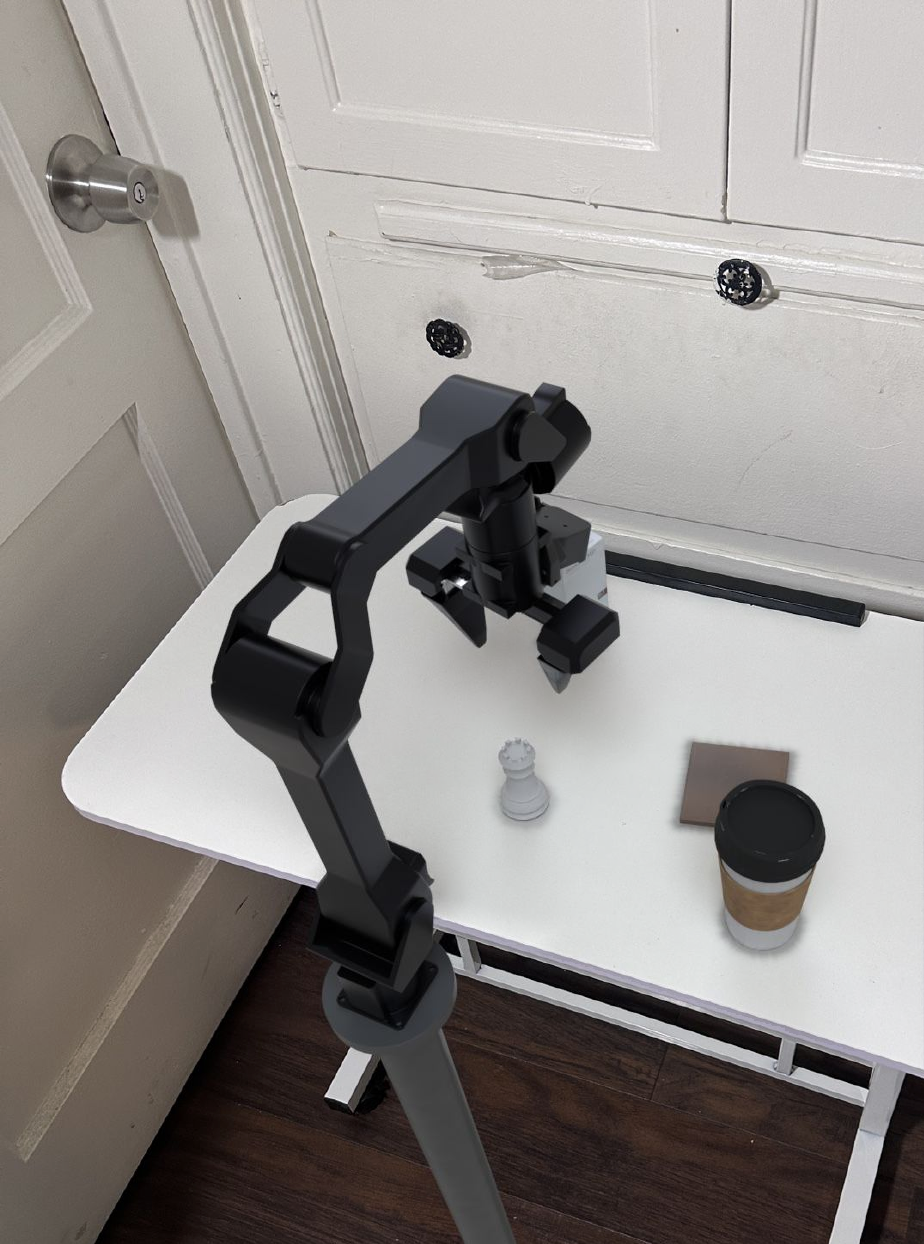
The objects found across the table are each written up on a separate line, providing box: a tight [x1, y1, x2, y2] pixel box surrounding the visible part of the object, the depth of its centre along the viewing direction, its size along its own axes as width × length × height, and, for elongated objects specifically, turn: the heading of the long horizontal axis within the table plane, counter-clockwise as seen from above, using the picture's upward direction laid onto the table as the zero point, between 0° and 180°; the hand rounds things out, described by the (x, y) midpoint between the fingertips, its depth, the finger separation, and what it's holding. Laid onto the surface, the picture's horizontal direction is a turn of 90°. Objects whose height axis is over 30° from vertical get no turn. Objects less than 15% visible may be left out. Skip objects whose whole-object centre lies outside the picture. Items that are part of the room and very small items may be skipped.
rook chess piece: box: [497, 736, 550, 821], centre depth 109 cm, size 4×4×8 cm
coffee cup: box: [713, 779, 827, 951], centre depth 97 cm, size 8×8×15 cm
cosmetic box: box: [539, 530, 610, 629], centre depth 120 cm, size 6×4×12 cm
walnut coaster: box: [679, 741, 790, 828], centre depth 112 cm, size 9×9×1 cm
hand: (520, 666), depth 107 cm, fingers open, 9 cm apart
